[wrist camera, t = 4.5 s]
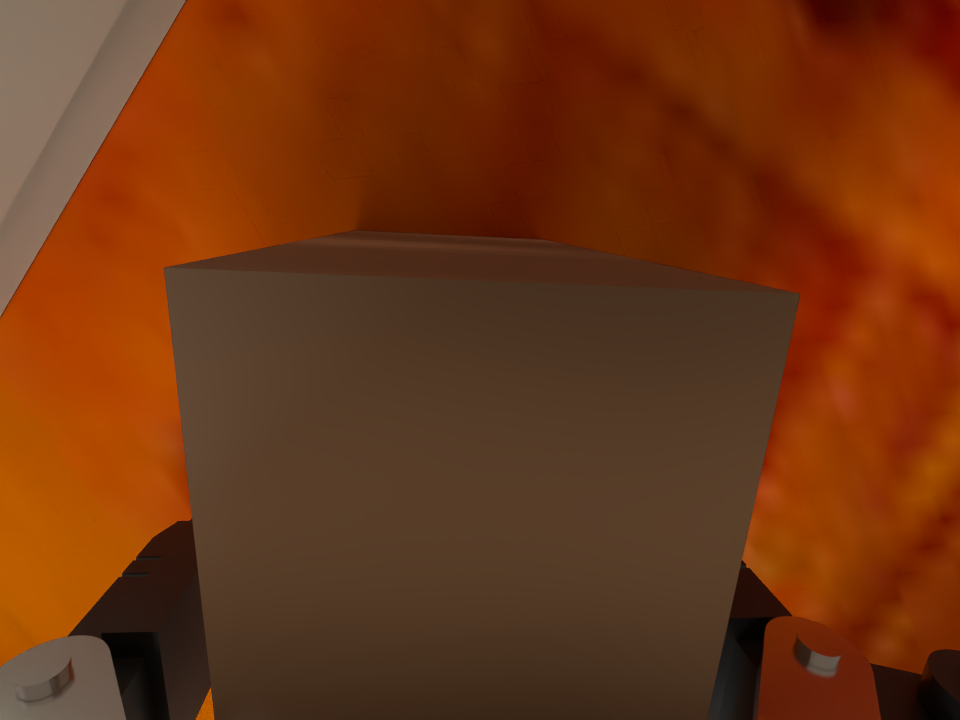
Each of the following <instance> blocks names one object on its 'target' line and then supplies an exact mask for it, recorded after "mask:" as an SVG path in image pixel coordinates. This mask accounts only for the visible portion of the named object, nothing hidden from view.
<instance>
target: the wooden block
mask: <svg viewBox="0 0 960 720" xmlns="http://www.w3.org/2000/svg"><path fill="white" fill-rule="evenodd" d="M164 273H165V282H166V291H167V300H168V308H169V317H170V326H171V335H172V344H173V353H174V362H175V371H176V380H177V389H178V397H179V406H180V415H181V424H182V433H183V442H184V451H185V460H186V469H187V477H188V486H189V495H190V504H191V513H192V522H193V531H194V540H195V549H196V557H197V566H198V575H199V584H200V593H201V602H202V611H203V620H204V629H205V637H206V646H207V655H208V664H209V673H210V682H211V691H212V700H213V709H214V718H215V720H707V716H708V711H709V707H710V702H711V698H712V693H713V689H714V684H715V680H716V675H717V670H718V666H719V661H720V657H721V652H722V648H723V643H724V639H725V634H726V630H727V625H728V620H729V616H730V611H731V607H732V602H733V598H734V593H735V589H736V584H737V580H738V575H739V570H740V566H741V561H742V557H743V552H744V548H745V543H746V539H747V534H748V530H749V525H750V520H751V516H752V511H753V507H754V502H755V498H756V493H757V489H758V484H759V479H760V475H761V470H762V466H763V461H764V457H765V452H766V448H767V443H768V439H769V434H770V429H771V425H772V420H773V416H774V411H775V407H776V402H777V398H778V393H779V389H780V384H781V379H782V375H783V370H784V366H785V361H786V357H787V352H788V348H789V343H790V339H791V334H792V329H793V325H794V320H795V316H796V311H797V307H798V302H799V298H800V294H799V293H795V292H790V291H785V290H780V289H776V288H771V287H766V286H762V285H757V284H752V283H747V282H743V281H738V280H733V279H728V278H724V277H719V276H714V275H709V274H705V273H700V272H695V271H690V270H686V269H681V268H676V267H671V266H667V265H662V264H657V263H653V262H648V261H643V260H638V259H634V258H629V257H624V256H619V255H615V254H610V253H605V252H600V251H596V250H591V249H586V248H581V247H577V246H572V245H567V244H563V243H558V242H553V241H548V240H541V239H521V238H501V237H481V236H461V235H441V234H421V233H401V232H381V231H361V230H354V231H349V232H344V233H338V234H333V235H328V236H323V237H318V238H313V239H308V240H303V241H298V242H292V243H287V244H282V245H277V246H272V247H267V248H262V249H257V250H252V251H246V252H241V253H236V254H231V255H226V256H221V257H216V258H211V259H206V260H200V261H195V262H190V263H185V264H180V265H175V266H170V267H165V268H164Z"/></svg>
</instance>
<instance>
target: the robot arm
mask: <svg viewBox="0 0 960 720" xmlns="http://www.w3.org/2000/svg"><path fill="white" fill-rule="evenodd" d="M210 687H211V682H210V673H209V664H208V655H207V646H206V637H205V629H204V620H203V611H202V602H201V593H200V584H199V575H198V566H197V557H196V549H195V540H194V531H193V522H192V519H191V520H190V521H178V522H176V523H175V524H173V525H172V526H170V527H169V528H167V529H165V530H164V531H162V532H161V533H159V534H158V535H156V536H155V537H153V538H152V539H151V541H150V542H149V543H148V544H147V545H146V546H145V547H144V549H143V550H142V551H141V552H140V553H139V554H138V556H137V558H136V561H132V562H131V564H130V565H129V566H128V567H127V568H126V569H125V571H124V572H123V573H122V577H118V579H117V580H116V581H115V582H114V583H113V584H112V586H111V587H110V588H109V589H108V590H107V591H106V592H105V594H104V595H103V596H102V597H101V598H100V599H99V601H98V602H97V603H96V604H95V605H94V606H93V607H92V609H91V610H90V611H89V612H88V613H87V614H86V616H85V617H84V618H83V619H82V620H81V621H80V622H79V624H78V625H77V626H76V627H75V628H74V629H73V631H72V632H71V633H70V634H69V635H68V636H67V637H63V638H59V639H55V640H52V641H49V642H46V643H43V644H40V645H38V646H36V647H33V648H31V649H29V650H27V651H25V652H23V653H21V654H19V655H18V656H16V657H14V658H13V659H11V660H10V661H8V662H7V663H5V664H4V665H2V666H1V667H0V720H195V719H196V717H197V715H198V713H199V711H200V708H201V706H202V704H203V702H204V700H205V698H206V696H207V693H208V691H209V689H210ZM707 720H960V651H957V650H948V649H945V650H937V651H934V652H933V653H931V654H930V655H929V657H928V659H927V662H926V665H925V668H924V671H923V673H922V675H920V674H916V673H911V672H907V671H902V670H898V669H893V668H889V667H884V666H880V665H875V664H871V663H869V661H868V660H867V658H866V657H865V656H864V654H863V653H862V652H861V651H860V650H859V649H858V648H857V647H856V646H855V645H854V644H853V643H852V642H850V641H849V640H848V639H846V638H845V637H844V636H842V635H841V634H839V633H837V632H836V631H834V630H832V629H830V628H828V627H826V626H825V625H822V624H820V623H817V622H815V621H812V620H808V619H805V618H800V617H793V616H792V615H791V614H790V613H789V611H788V610H787V609H786V608H785V607H784V606H783V605H782V604H781V603H780V601H779V600H778V599H777V598H776V597H775V596H774V595H773V594H772V593H771V591H770V590H769V589H768V588H767V587H766V586H765V585H764V584H763V583H762V582H761V580H760V579H759V578H758V577H757V576H756V575H755V574H754V573H753V572H752V570H751V569H750V568H747V567H746V564H745V563H744V562H743V560H742V561H741V566H740V570H739V575H738V580H737V584H736V589H735V593H734V598H733V602H732V607H731V611H730V616H729V620H728V625H727V630H726V634H725V639H724V643H723V648H722V652H721V657H720V661H719V666H718V670H717V675H716V680H715V684H714V689H713V693H712V698H711V702H710V707H709V711H708V716H707Z"/></svg>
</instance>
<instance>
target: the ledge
mask: <svg viewBox="0 0 960 720" xmlns="http://www.w3.org/2000/svg"><path fill="white" fill-rule="evenodd" d="M185 1H186V0H0V316H1V315H2V313H3V311H4V310H5V308H6V306H7V305H8V303H9V301H10V299H11V298H12V296H13V294H14V293H15V291H16V289H17V288H18V286H19V284H20V282H21V281H22V279H23V277H24V276H25V274H26V272H27V270H28V269H29V267H30V265H31V264H32V262H33V260H34V259H35V257H36V255H37V253H38V252H39V250H40V248H41V247H42V245H43V243H44V242H45V240H46V238H47V236H48V235H49V233H50V231H51V230H52V228H53V226H54V224H55V223H56V221H57V219H58V218H59V216H60V214H61V213H62V211H63V209H64V207H65V206H66V204H67V202H68V201H69V199H70V197H71V196H72V194H73V192H74V190H75V189H76V187H77V185H78V184H79V182H80V180H81V178H82V177H83V175H84V173H85V172H86V170H87V168H88V167H89V165H90V163H91V161H92V160H93V158H94V156H95V155H96V153H97V151H98V150H99V148H100V146H101V144H102V143H103V141H104V139H105V138H106V136H107V134H108V132H109V131H110V129H111V127H112V126H113V124H114V122H115V121H116V119H117V117H118V115H119V114H120V112H121V110H122V109H123V107H124V105H125V103H126V102H127V100H128V98H129V97H130V95H131V93H132V92H133V90H134V88H135V86H136V85H137V83H138V81H139V80H140V78H141V76H142V75H143V73H144V71H145V69H146V68H147V66H148V64H149V63H150V61H151V59H152V57H153V56H154V54H155V52H156V51H157V49H158V47H159V46H160V44H161V42H162V40H163V39H164V37H165V35H166V34H167V32H168V30H169V29H170V27H171V25H172V23H173V22H174V20H175V18H176V17H177V15H178V13H179V11H180V10H181V8H182V6H183V5H184V3H185Z"/></svg>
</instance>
